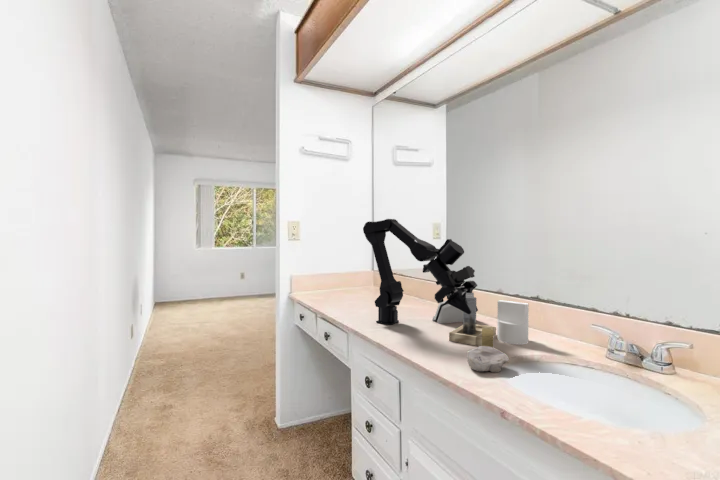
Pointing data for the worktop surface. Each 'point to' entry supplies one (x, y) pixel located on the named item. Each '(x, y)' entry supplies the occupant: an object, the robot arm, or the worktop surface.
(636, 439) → the worktop surface
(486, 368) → the fossil
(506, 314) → the cylinder with rectangular tab
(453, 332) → the block
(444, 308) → the grey curved block
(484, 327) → the square bit
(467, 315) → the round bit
